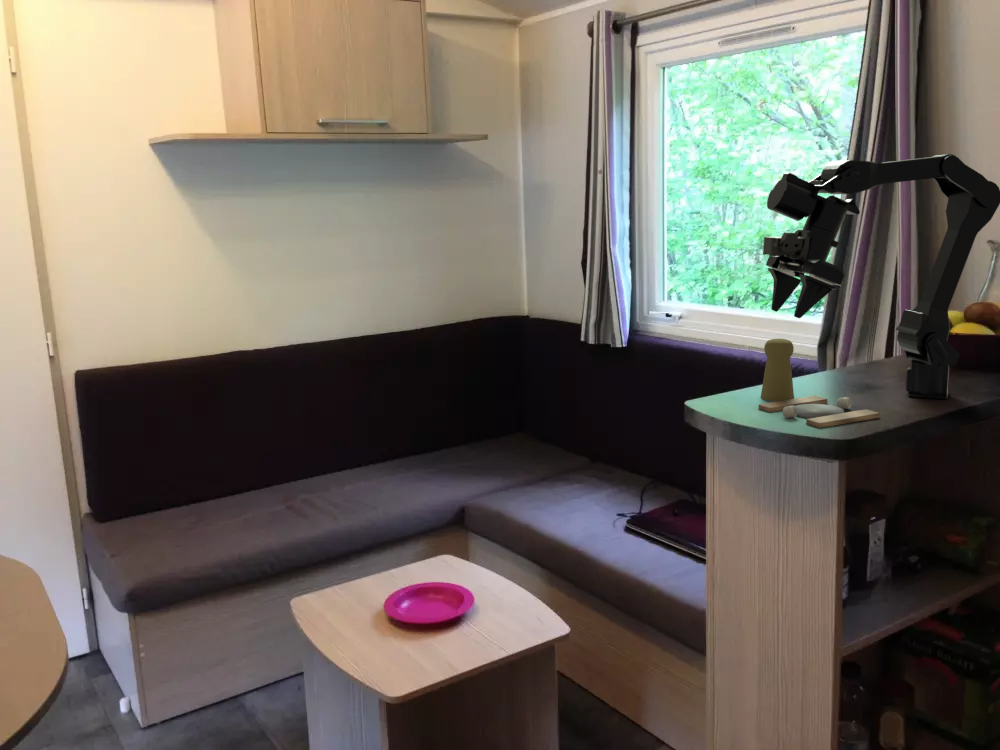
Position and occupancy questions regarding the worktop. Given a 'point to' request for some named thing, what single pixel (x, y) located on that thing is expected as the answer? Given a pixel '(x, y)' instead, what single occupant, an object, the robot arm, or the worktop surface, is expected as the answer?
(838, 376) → the worktop surface
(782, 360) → the cork
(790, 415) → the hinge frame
